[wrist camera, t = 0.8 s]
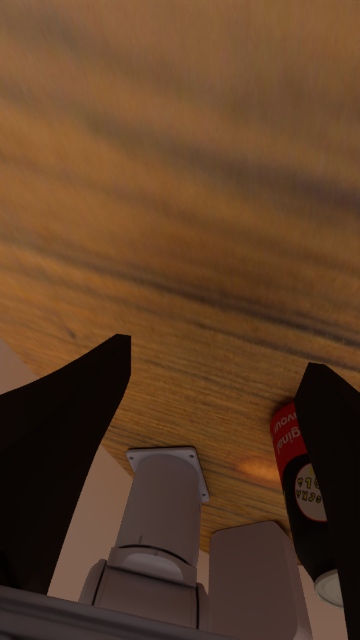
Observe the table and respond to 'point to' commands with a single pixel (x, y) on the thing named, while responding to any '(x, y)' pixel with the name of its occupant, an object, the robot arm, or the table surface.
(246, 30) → the table surface
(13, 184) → the table surface
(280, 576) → the electronic device
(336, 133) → the table surface
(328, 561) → the beverage can
